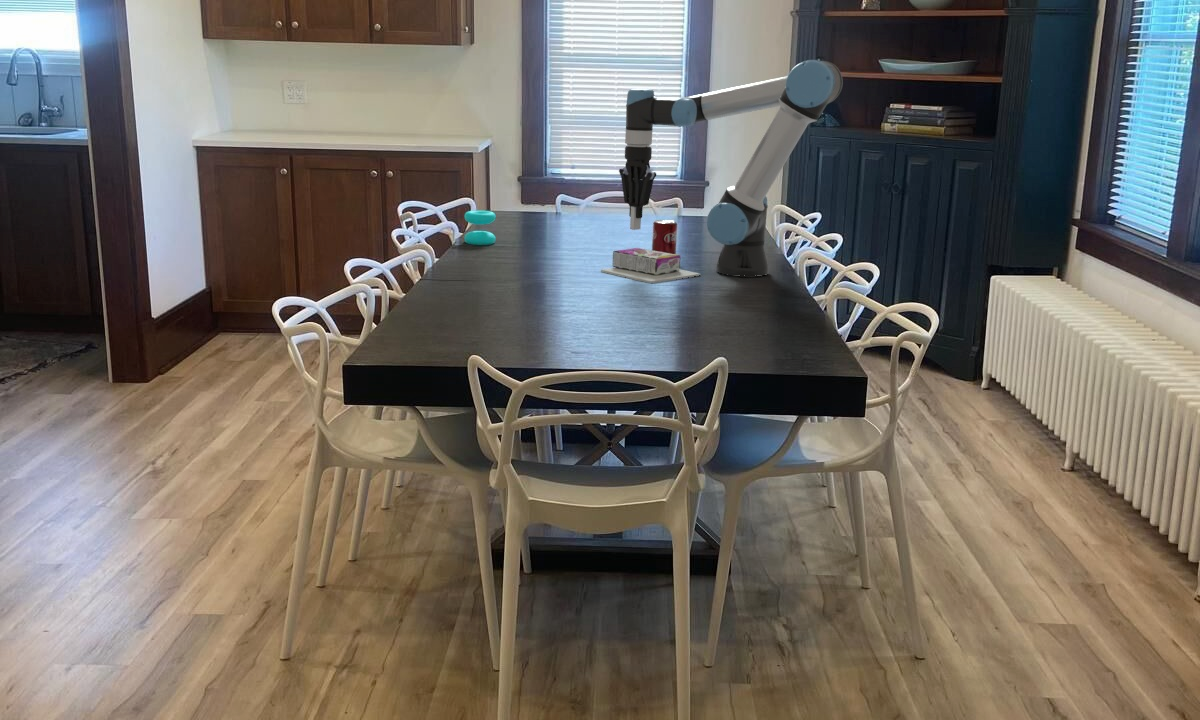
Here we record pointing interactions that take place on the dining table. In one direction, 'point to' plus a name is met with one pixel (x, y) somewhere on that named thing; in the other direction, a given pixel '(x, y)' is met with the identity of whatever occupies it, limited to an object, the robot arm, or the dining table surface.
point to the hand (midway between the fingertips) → (635, 229)
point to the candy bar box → (646, 261)
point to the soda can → (664, 236)
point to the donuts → (479, 236)
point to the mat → (650, 275)
